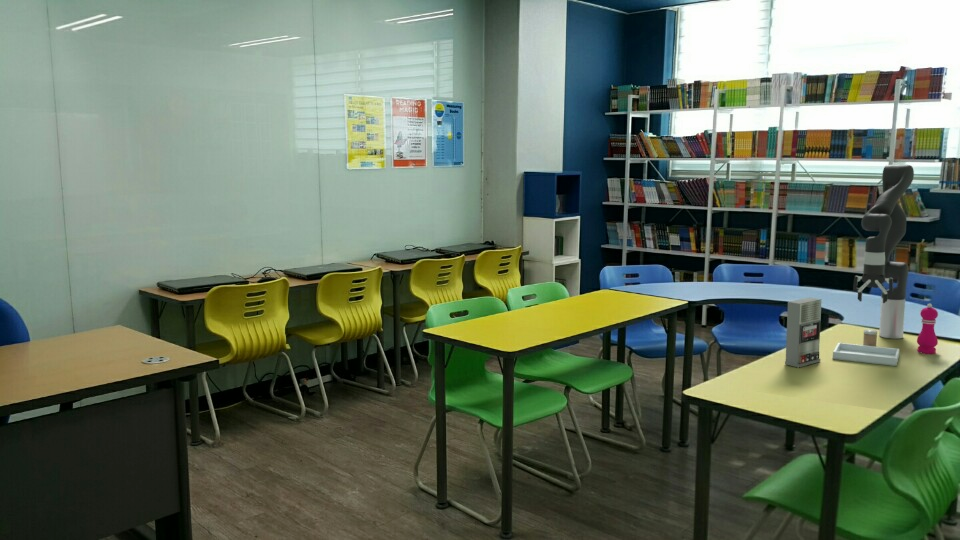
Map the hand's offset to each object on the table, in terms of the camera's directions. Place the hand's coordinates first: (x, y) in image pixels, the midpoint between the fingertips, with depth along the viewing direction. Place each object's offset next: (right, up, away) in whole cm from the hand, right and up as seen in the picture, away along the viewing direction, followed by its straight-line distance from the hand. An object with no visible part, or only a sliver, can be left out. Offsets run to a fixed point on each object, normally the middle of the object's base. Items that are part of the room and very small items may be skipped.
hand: (872, 302), depth 295 cm
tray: (-7, -22, -9) cm, 24 cm away
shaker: (+1, -20, +3) cm, 20 cm away
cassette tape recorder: (-35, -24, -14) cm, 44 cm away
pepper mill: (+21, -20, -3) cm, 29 cm away
